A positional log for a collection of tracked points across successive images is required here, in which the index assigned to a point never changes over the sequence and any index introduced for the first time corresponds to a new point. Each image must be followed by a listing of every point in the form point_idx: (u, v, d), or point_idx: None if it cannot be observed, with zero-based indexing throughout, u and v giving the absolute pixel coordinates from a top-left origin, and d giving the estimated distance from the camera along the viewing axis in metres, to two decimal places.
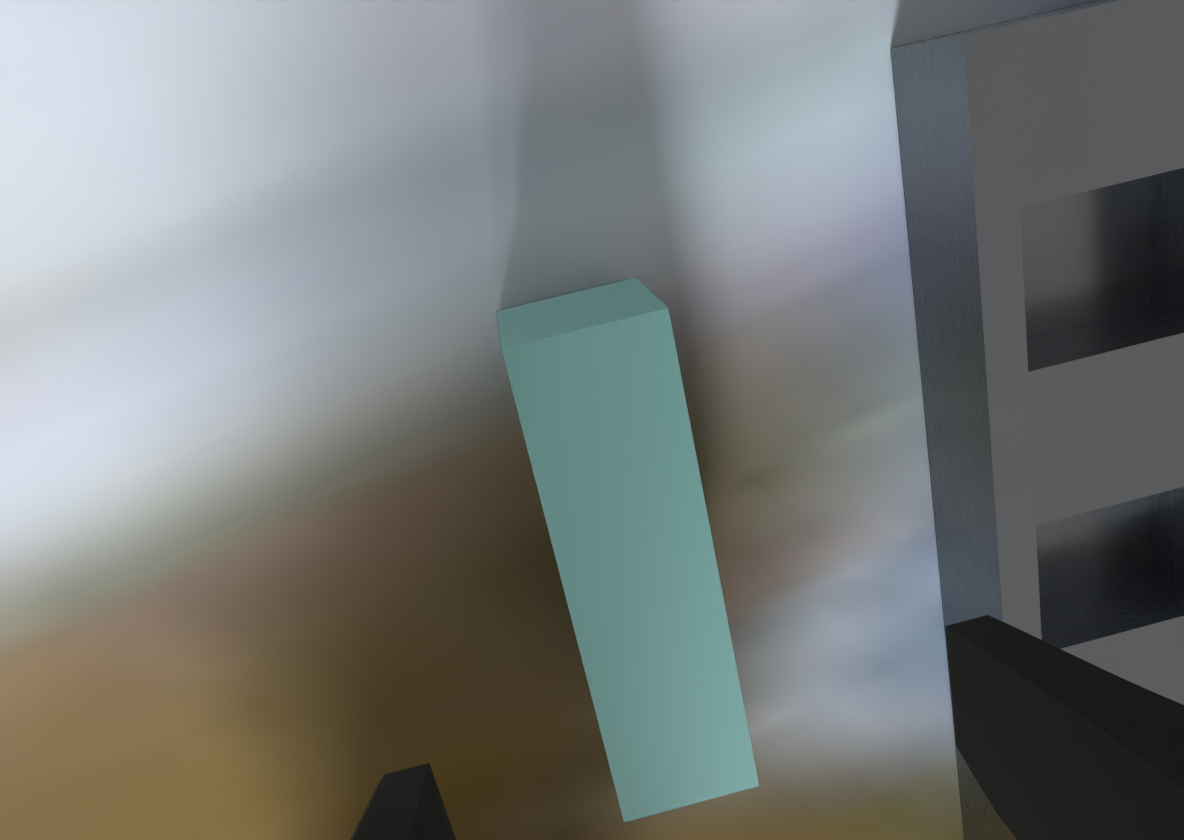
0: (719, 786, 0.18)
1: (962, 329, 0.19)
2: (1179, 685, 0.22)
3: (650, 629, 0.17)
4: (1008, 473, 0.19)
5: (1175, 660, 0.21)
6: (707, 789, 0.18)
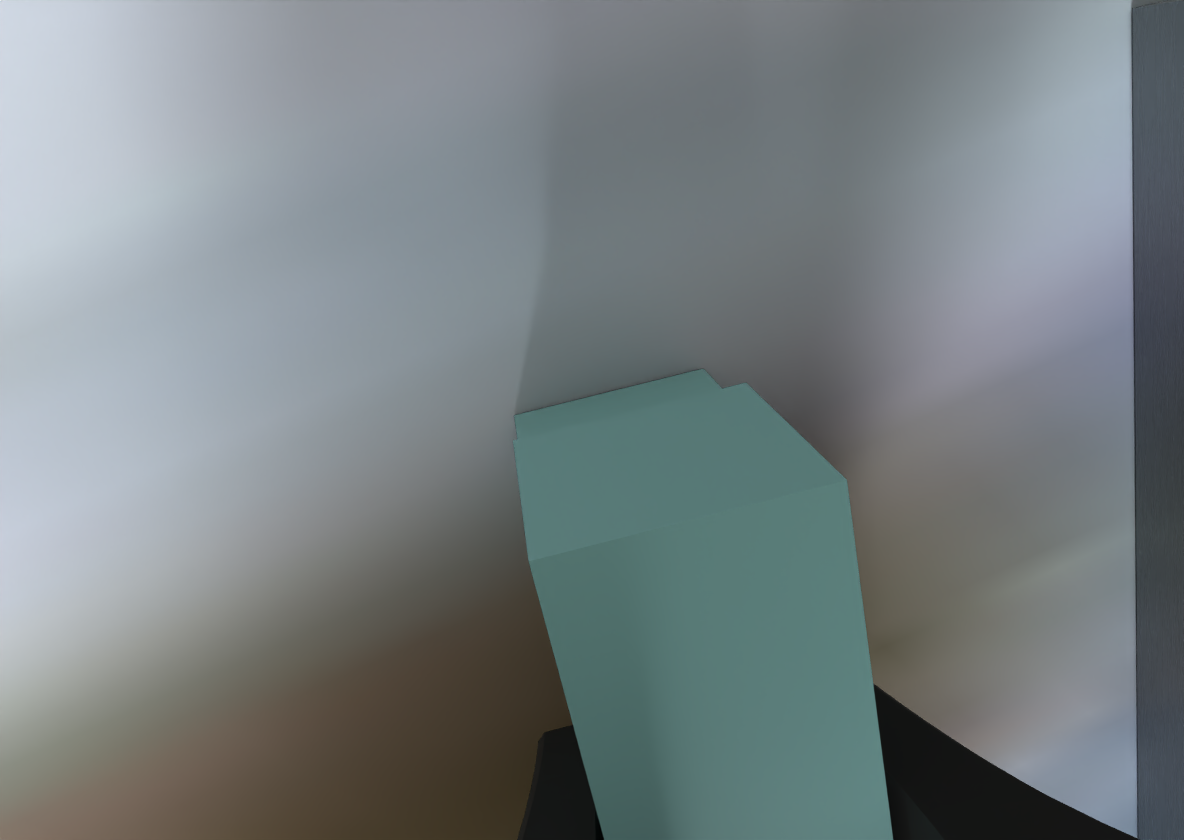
0: None
1: None
2: None
3: None
4: None
5: None
6: None
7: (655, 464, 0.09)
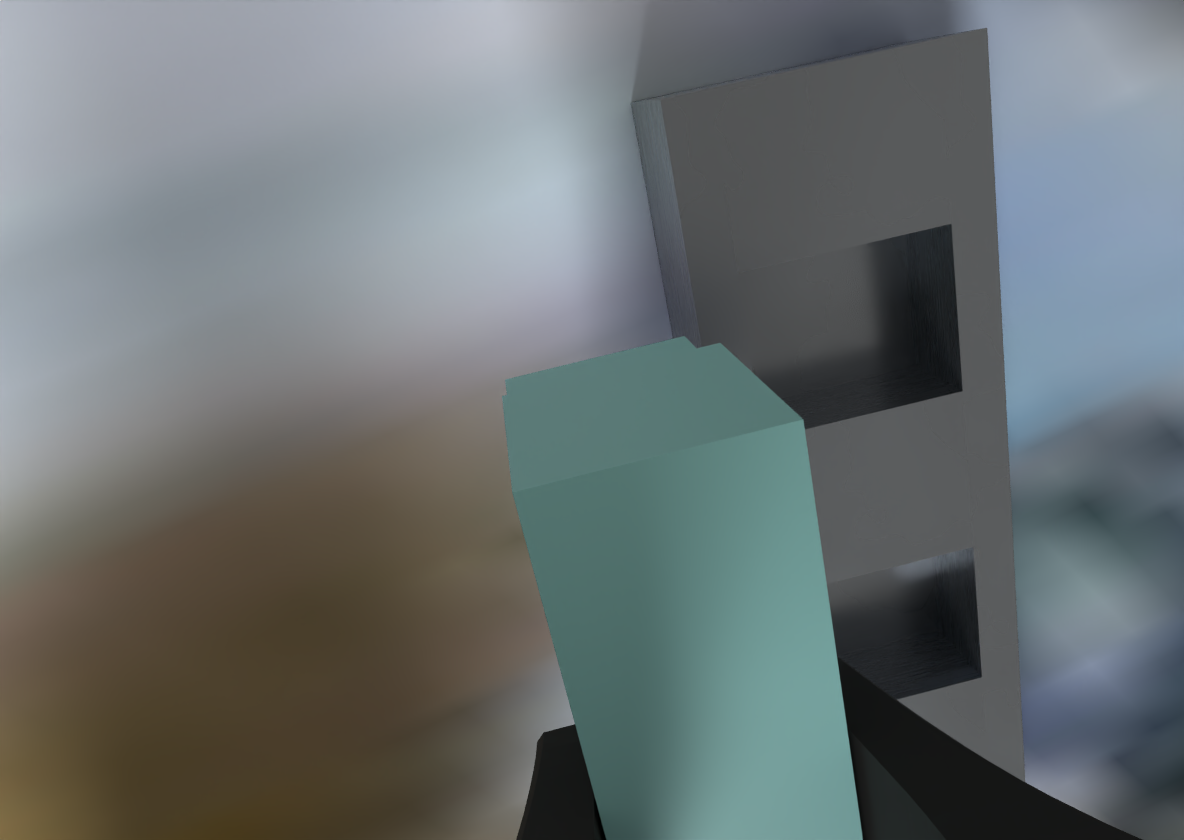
0: None
1: None
2: None
3: None
4: None
5: (948, 729, 0.21)
6: None
7: (631, 411, 0.10)
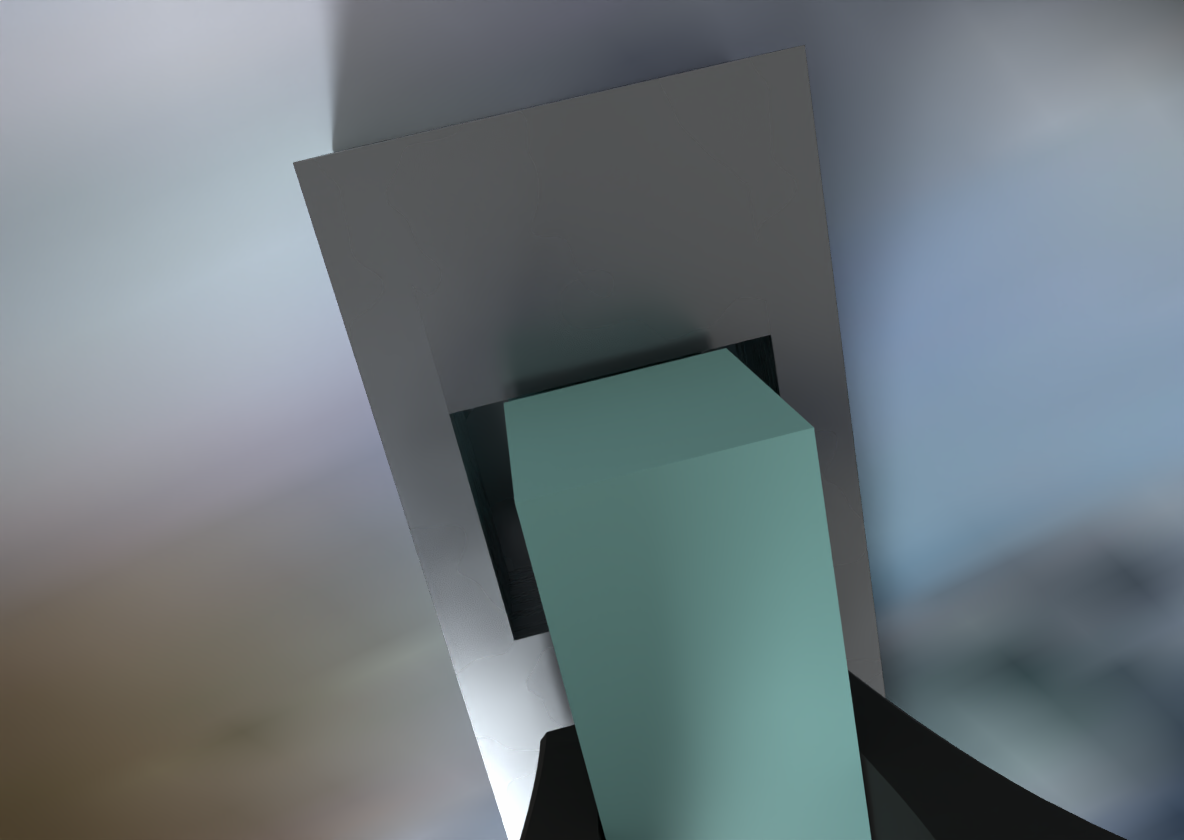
0: None
1: None
2: None
3: None
4: (513, 774, 0.13)
5: None
6: None
7: (636, 419, 0.09)
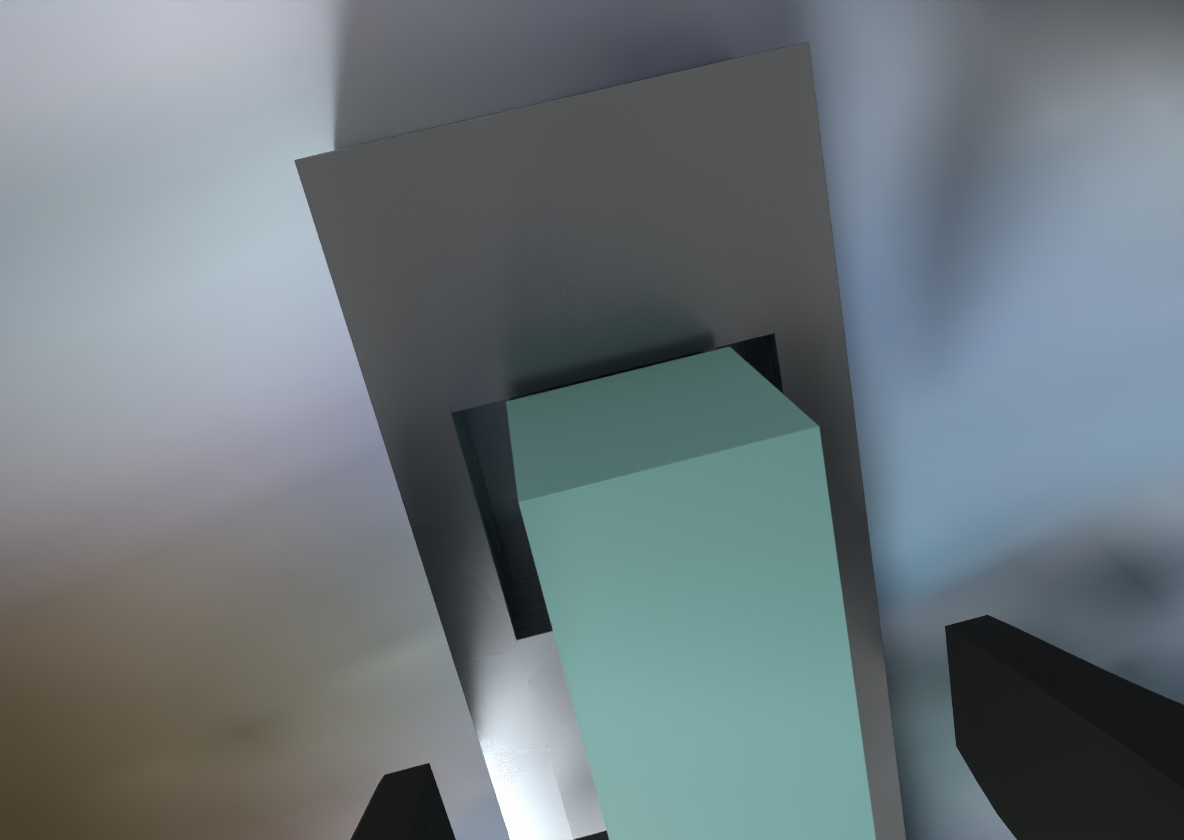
0: None
1: None
2: None
3: None
4: (514, 775, 0.13)
5: None
6: None
7: (640, 418, 0.09)
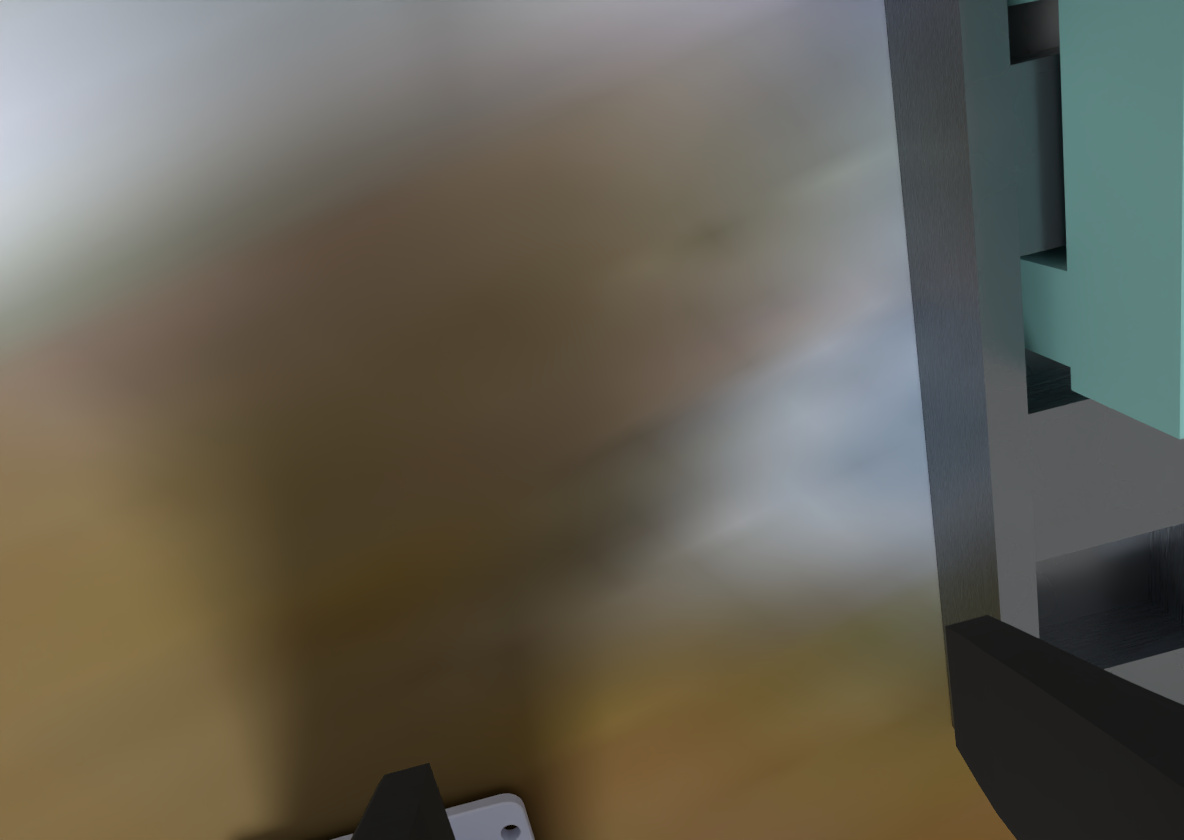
0: None
1: (937, 25, 0.17)
2: (1179, 459, 0.20)
3: None
4: (988, 190, 0.17)
5: None
6: None
7: None
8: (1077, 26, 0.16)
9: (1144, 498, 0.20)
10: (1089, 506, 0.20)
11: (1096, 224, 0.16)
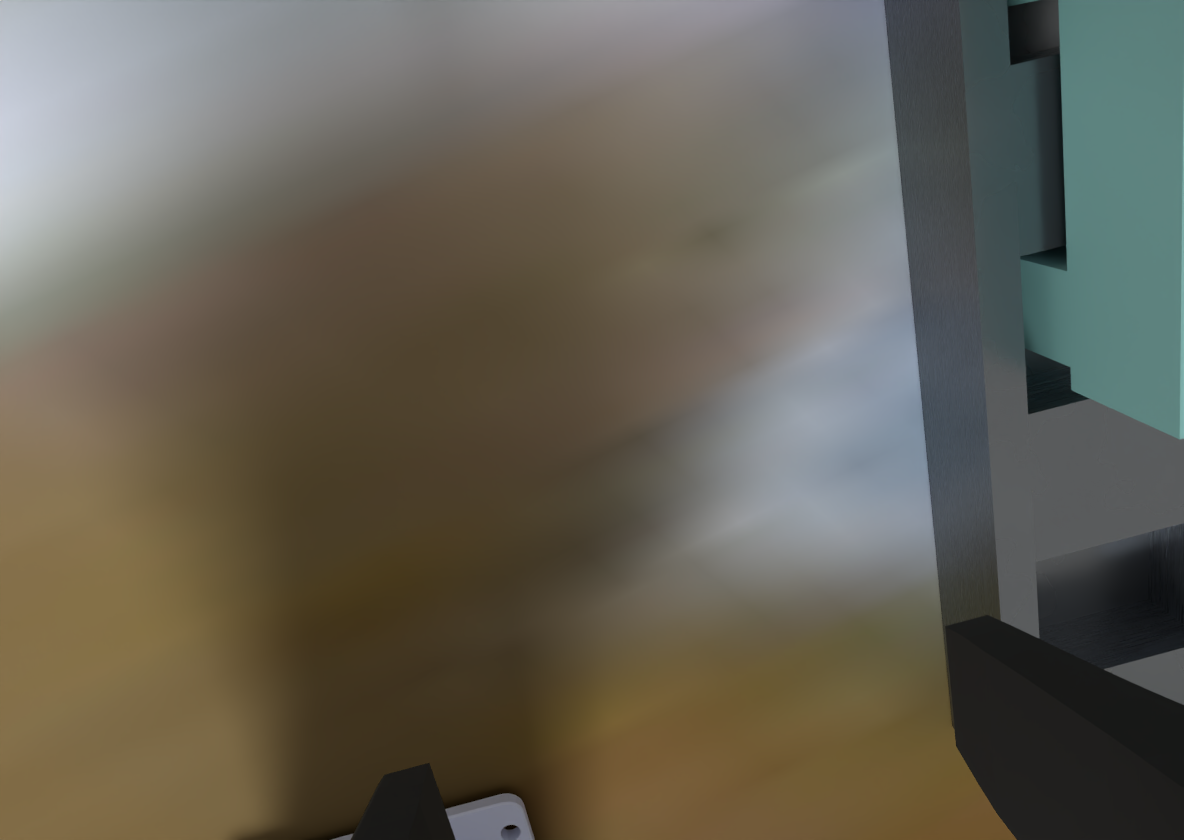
0: None
1: (937, 25, 0.17)
2: (1179, 459, 0.20)
3: None
4: (988, 190, 0.17)
5: None
6: None
7: None
8: (1077, 26, 0.16)
9: (1144, 498, 0.20)
10: (1089, 506, 0.20)
11: (1096, 224, 0.16)
